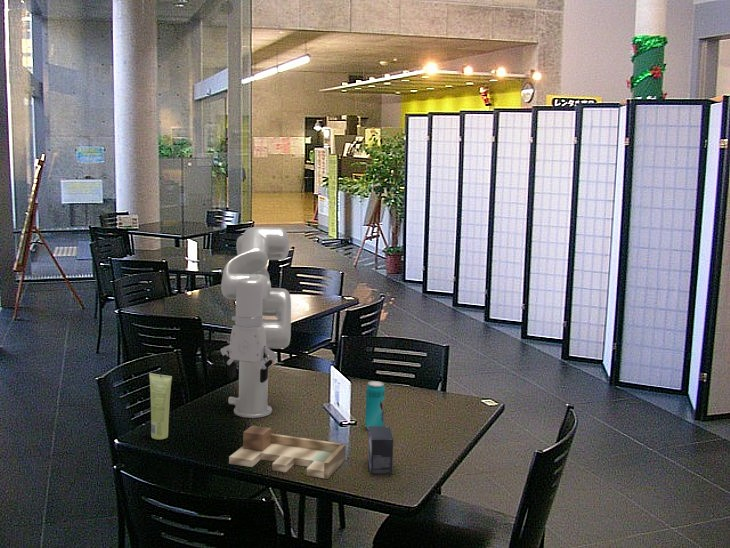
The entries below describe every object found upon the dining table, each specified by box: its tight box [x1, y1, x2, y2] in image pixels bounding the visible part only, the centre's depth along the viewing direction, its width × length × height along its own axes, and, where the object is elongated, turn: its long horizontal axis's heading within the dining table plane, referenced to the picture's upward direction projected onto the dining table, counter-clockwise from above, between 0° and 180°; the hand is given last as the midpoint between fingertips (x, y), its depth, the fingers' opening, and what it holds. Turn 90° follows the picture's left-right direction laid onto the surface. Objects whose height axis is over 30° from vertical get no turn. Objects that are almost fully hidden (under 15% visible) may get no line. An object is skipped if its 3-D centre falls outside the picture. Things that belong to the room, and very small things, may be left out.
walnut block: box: [242, 425, 272, 452], centre depth 235 cm, size 6×6×5 cm
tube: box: [148, 372, 173, 440], centre depth 244 cm, size 6×5×20 cm
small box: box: [367, 425, 395, 476], centre depth 228 cm, size 11×6×10 cm, turn 5°
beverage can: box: [365, 380, 386, 431], centre depth 258 cm, size 6×6×15 cm
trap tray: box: [228, 433, 347, 480], centre depth 230 cm, size 30×15×4 cm, turn 74°
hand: (248, 379), depth 235 cm, fingers open, 9 cm apart
